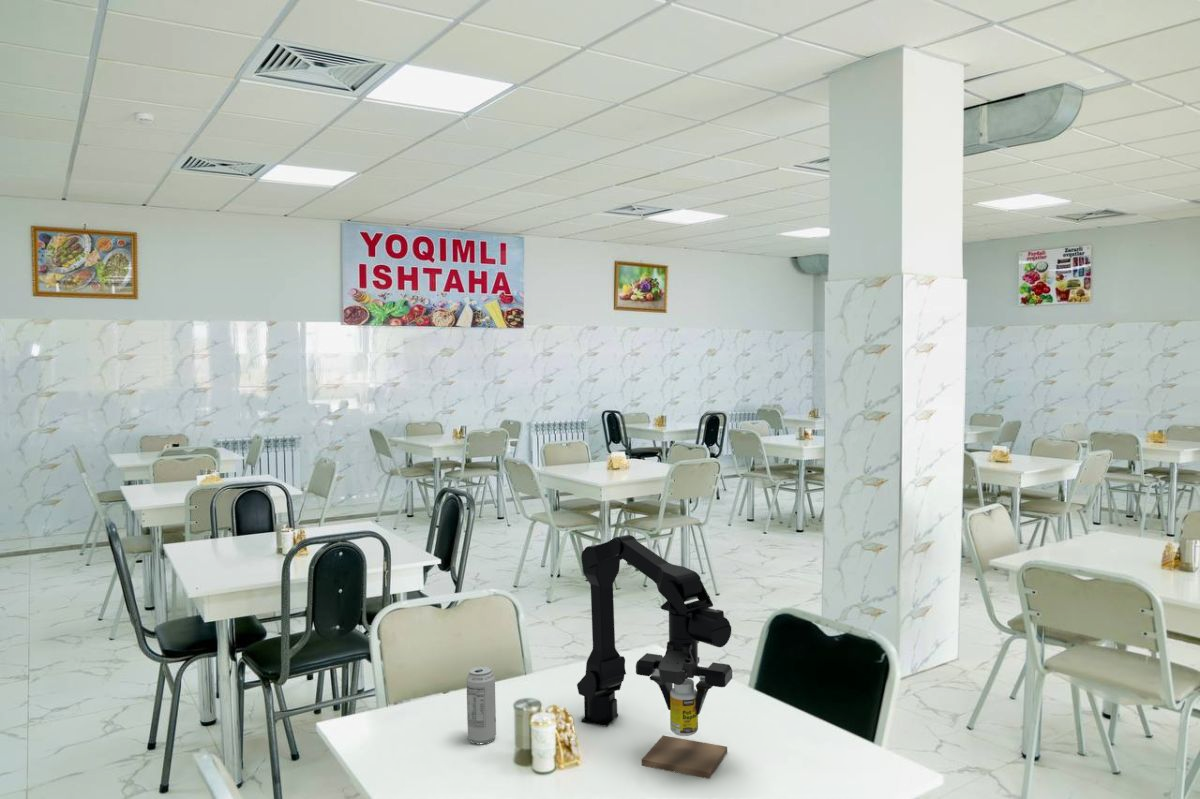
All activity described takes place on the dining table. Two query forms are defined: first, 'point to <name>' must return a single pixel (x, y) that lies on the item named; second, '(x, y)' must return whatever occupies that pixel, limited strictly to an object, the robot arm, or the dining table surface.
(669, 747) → the walnut board
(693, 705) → the supplement bottle
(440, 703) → the dining table surface
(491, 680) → the energy drink can
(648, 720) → the dining table surface
